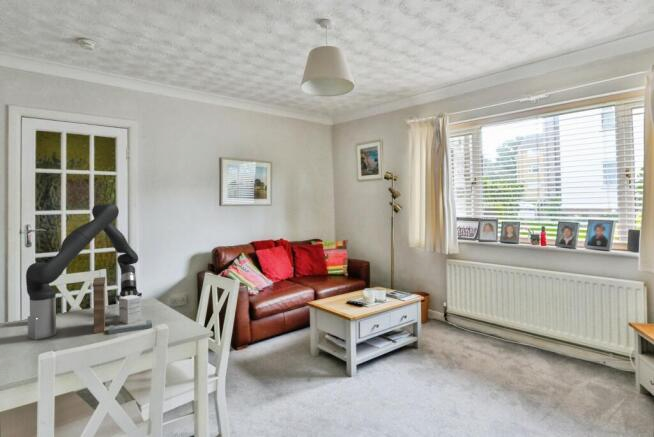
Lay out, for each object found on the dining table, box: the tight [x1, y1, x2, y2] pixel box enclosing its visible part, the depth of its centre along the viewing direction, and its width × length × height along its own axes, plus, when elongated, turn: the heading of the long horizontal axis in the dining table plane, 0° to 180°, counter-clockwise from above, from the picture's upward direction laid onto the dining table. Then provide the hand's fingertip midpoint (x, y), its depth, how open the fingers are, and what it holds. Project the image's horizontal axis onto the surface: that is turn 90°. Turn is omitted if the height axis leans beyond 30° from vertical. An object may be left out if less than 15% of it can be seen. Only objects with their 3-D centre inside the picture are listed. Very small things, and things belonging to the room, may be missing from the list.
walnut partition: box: [91, 276, 106, 335], centre depth 172 cm, size 17×5×23 cm, turn 30°
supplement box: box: [118, 295, 142, 325], centre depth 183 cm, size 7×7×13 cm
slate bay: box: [108, 319, 153, 335], centre depth 172 cm, size 7×18×2 cm, turn 121°
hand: (129, 310), depth 187 cm, fingers closed
